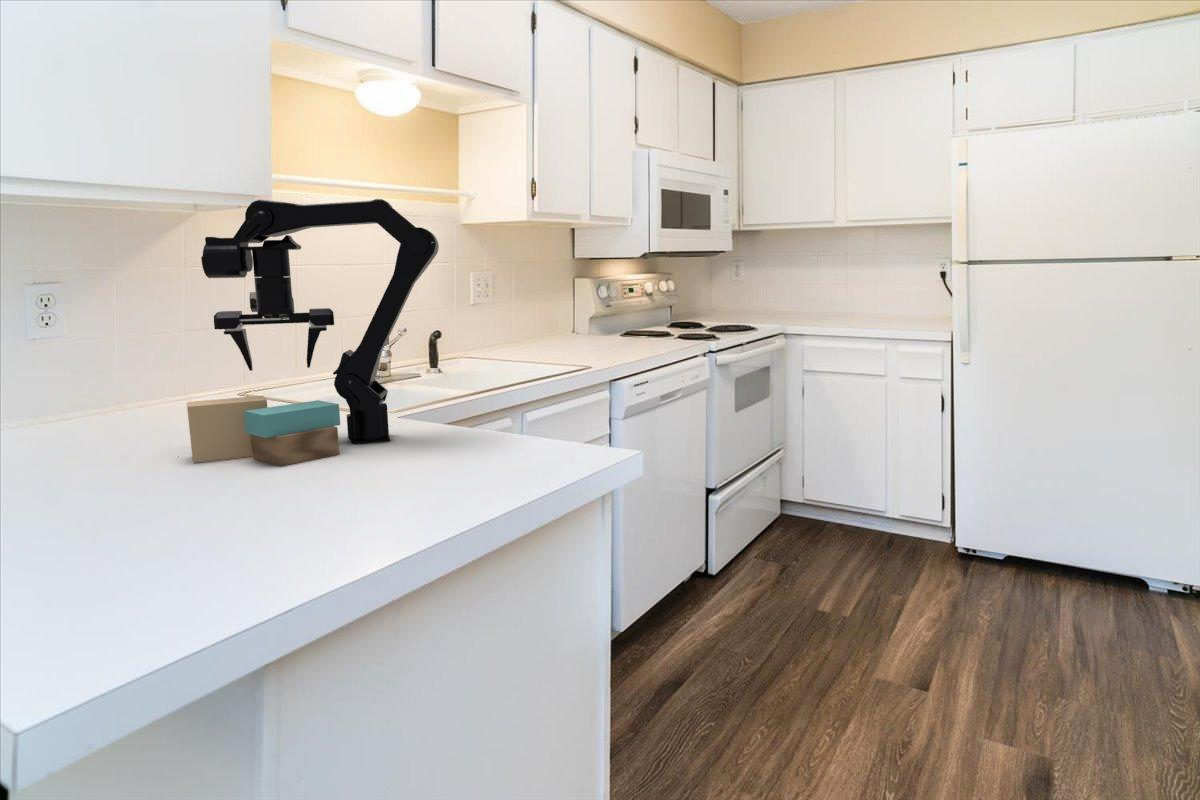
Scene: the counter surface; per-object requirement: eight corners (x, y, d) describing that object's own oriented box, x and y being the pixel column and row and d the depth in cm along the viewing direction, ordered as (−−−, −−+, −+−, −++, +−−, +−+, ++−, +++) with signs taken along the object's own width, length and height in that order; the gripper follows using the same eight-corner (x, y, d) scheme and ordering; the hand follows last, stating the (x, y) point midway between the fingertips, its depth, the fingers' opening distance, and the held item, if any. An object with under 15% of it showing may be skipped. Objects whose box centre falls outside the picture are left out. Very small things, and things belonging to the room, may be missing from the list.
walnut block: (310, 447, 134) (308, 421, 133) (339, 454, 128) (337, 427, 127) (252, 458, 126) (250, 430, 125) (280, 466, 120) (278, 437, 120)
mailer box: (267, 448, 133) (262, 395, 132) (271, 454, 129) (266, 399, 127) (192, 456, 128) (186, 402, 127) (193, 463, 123) (187, 406, 122)
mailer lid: (319, 420, 133) (317, 400, 132) (340, 425, 129) (338, 404, 128) (245, 432, 124) (243, 410, 123) (265, 438, 119) (263, 415, 119)
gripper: (330, 276, 143) (336, 361, 146) (217, 278, 137) (226, 367, 140) (330, 276, 133) (337, 367, 136) (209, 278, 127) (218, 374, 130)
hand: (280, 368), depth 135 cm, fingers open, 9 cm apart
